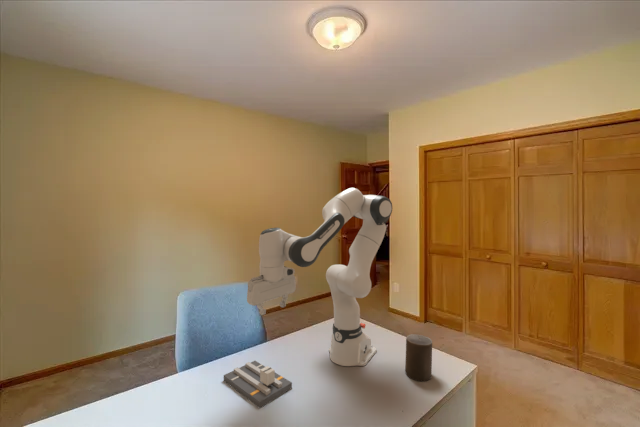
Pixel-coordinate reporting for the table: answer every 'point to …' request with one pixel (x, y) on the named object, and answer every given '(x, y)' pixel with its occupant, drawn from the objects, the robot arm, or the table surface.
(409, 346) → the pillar candle
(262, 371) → the fader knob
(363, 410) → the table surface
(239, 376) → the slider console
